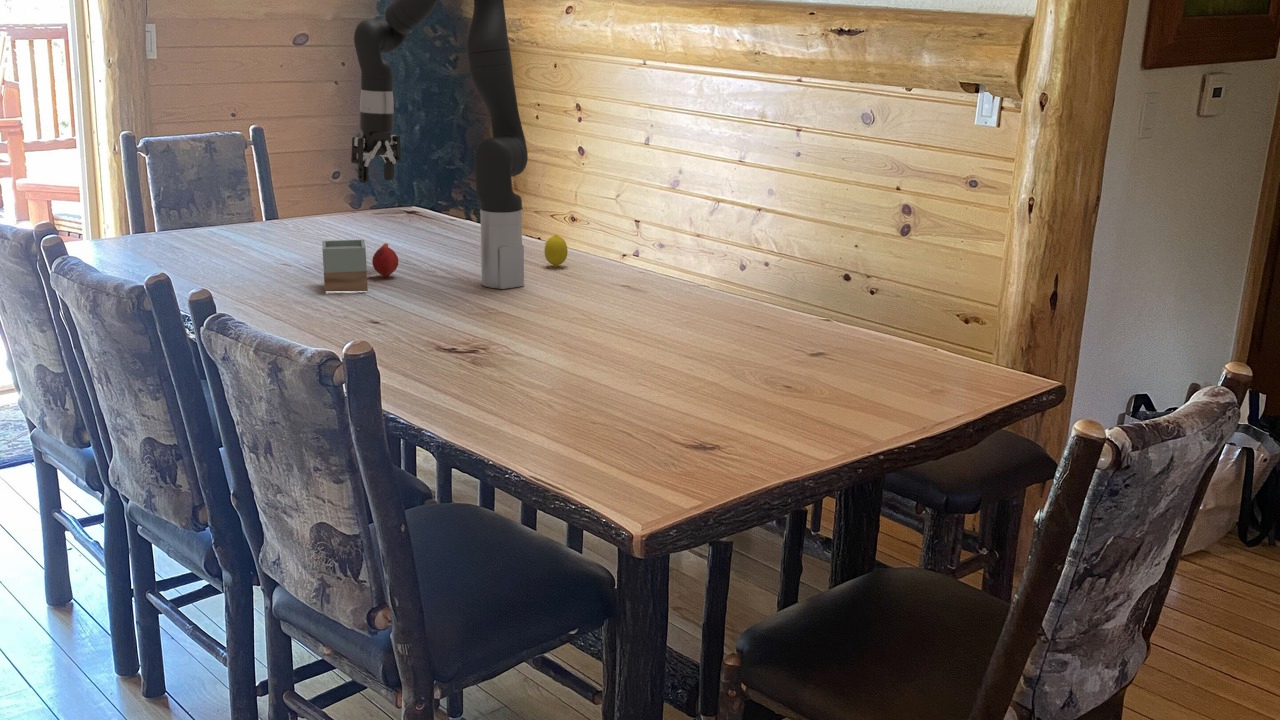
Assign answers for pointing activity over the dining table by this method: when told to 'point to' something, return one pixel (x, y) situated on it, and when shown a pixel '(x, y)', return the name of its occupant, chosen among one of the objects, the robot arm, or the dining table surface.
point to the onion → (385, 261)
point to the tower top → (344, 256)
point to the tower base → (346, 281)
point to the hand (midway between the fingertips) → (376, 181)
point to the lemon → (556, 250)
